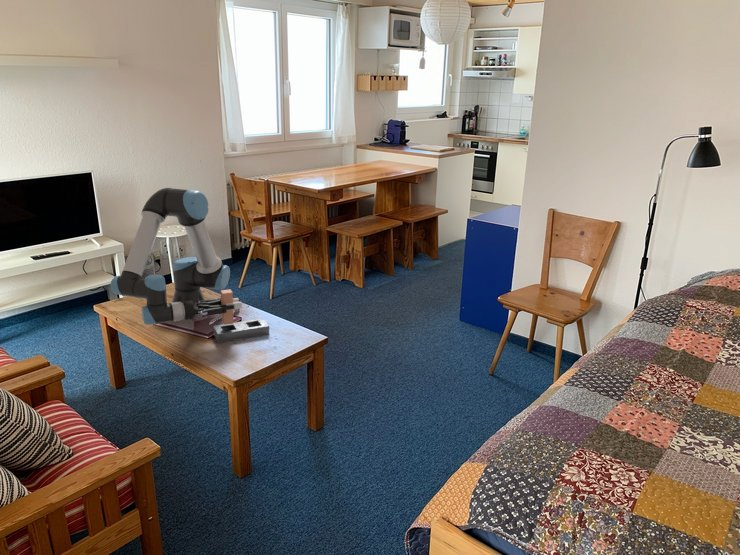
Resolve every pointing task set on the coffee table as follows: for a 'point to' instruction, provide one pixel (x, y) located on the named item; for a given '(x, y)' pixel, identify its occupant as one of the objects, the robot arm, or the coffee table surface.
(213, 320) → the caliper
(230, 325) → the grey peg hole block
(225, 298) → the peg
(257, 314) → the coffee table surface
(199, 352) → the coffee table surface
